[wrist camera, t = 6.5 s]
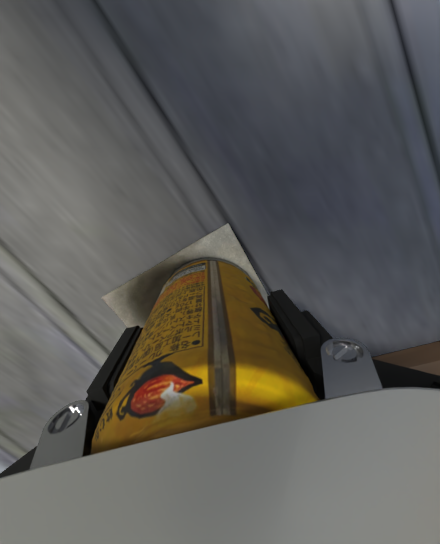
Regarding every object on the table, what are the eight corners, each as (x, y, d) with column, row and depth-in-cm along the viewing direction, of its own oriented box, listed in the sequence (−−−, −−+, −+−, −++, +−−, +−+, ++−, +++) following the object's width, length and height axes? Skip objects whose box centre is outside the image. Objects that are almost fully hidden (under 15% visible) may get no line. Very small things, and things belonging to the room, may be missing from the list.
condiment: (282, 321, 15) (529, 725, 4) (171, 379, 16) (80, 848, 4) (227, 222, 13) (398, 421, 1) (103, 295, 14) (-409, 775, 2)
